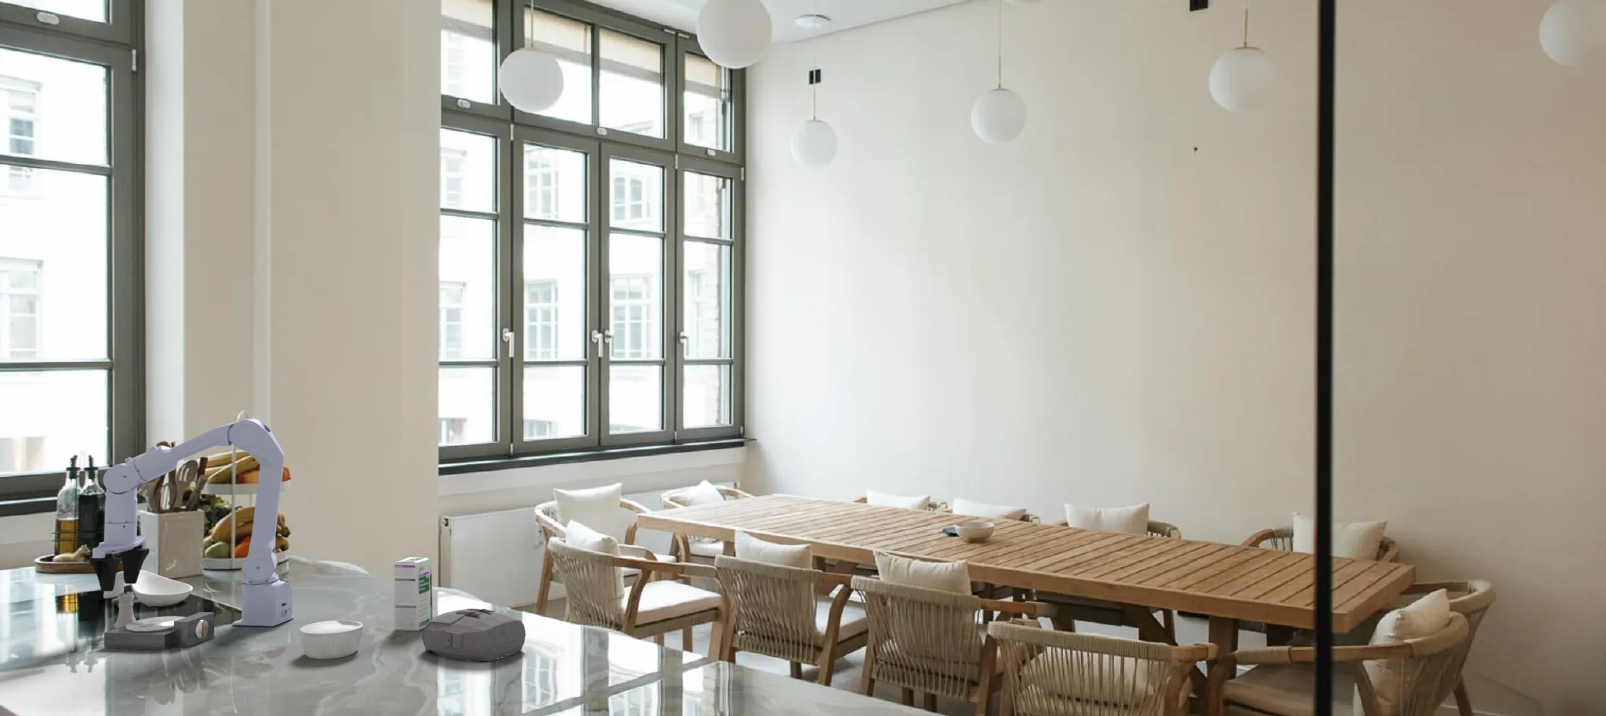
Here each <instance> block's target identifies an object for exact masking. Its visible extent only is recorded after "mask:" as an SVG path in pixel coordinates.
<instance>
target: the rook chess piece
mask: <svg viewBox="0 0 1606 716" xmlns="http://www.w3.org/2000/svg"><path fill="white" fill-rule="evenodd" d="M135 597H136V596H135V594H134V592H133V591H126V593H125V591H124V592H122V593H119V596H117V597H116V599H117V601H118V602H119V603H118V605H117V606H118V609H119V610H118V614H117V615H118V616H117V619H116V622H114V623H113V627H114V629H117V628H120V627H123V626H126V625H127V624H129V623H131V622H134V621H137V620H136V617H135V615H134V609H133V607H134V605H135V603H134V602H133V600H134V599H135Z"/></svg>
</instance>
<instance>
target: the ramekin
mask: <svg viewBox="0 0 1606 716" xmlns="http://www.w3.org/2000/svg"><path fill="white" fill-rule="evenodd" d="M363 629H364V624H363V623H362V622H360V621H355V620H349V619H348V620H347V619H333V620H324V621H318V622H317V621H316V622H314V623H309V624H306V625H304V626H302V627H300V628H299V636H300V637H301V643H302V649H303V653H304V655H305V656H306V657H307V658H310V659H313V660H314V659H315V660H331V659H339V658H344V657H347V656H351V655H354V654H356V652H357V650H359V648H360V647H359V646H360V641H361V636H362V631H363Z"/></svg>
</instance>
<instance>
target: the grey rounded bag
mask: <svg viewBox="0 0 1606 716" xmlns="http://www.w3.org/2000/svg"><path fill="white" fill-rule="evenodd" d="M525 628H526V627H525V625H524V622H522V620H521V619H518V618H515V617H513V616H511V615H506V614H503V613H499V612H496V611H495V610H490V609H485V608H482V609H479V608H465V609H457V610H452V611H448V612H444V613H440V614H439V615H437V616H434V617H433V619H432V620H431V621H429V622H428V623H427V624H426V626H425V627H424V628H423V629H422V630H423V631H422V635H421V638H422V642H423V645H424V649H425V651H431V652H433V653H435V654H436V655H438V656H441V657H445V658H448V657H449V658H448V659H452V658H453V659H452V660H459V659H460V661H466V660H470V661H469V662H488V661H489V662H493V661H492V660H494V661H497V660H498V659H497V658H501V657H504V658H506V657H505V656H507V655H509V654H513V653H515V652H517V651H518V652H519V650H520V651H521V650H522V649H523V647H524V644H525V642H526V641H525V640H526V633H527V632H526V629H525ZM518 652H517V653H518ZM515 654H516V653H515ZM513 655H514V654H513ZM507 657H508V656H507ZM496 659H497V660H496ZM501 659H502V658H501Z"/></svg>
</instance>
